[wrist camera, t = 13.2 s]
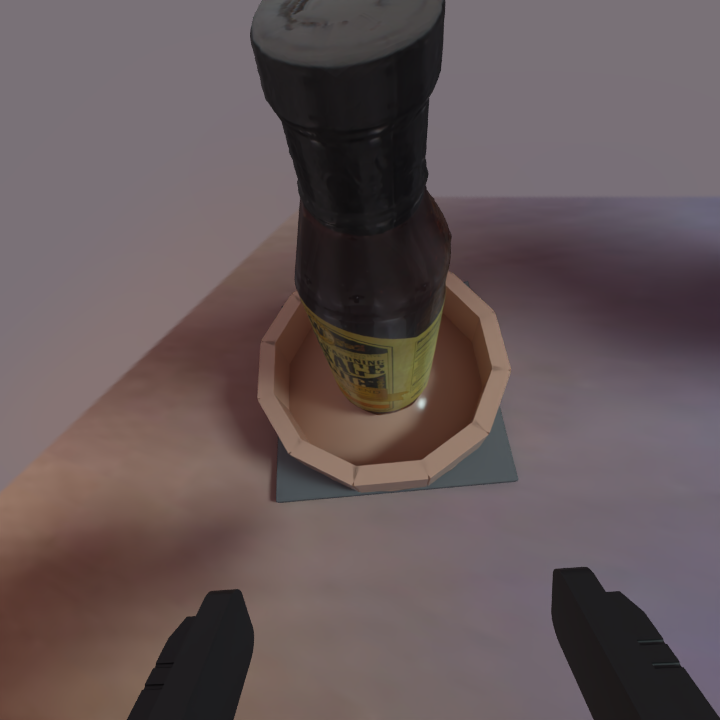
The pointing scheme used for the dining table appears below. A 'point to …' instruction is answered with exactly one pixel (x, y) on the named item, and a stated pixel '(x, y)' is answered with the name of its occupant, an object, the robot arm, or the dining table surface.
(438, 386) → the bowl
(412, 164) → the sauce bottle
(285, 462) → the mat
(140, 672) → the dining table surface
